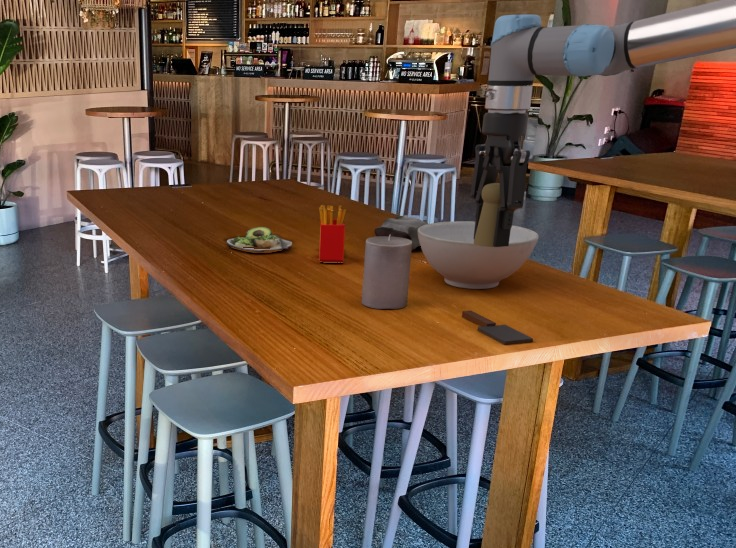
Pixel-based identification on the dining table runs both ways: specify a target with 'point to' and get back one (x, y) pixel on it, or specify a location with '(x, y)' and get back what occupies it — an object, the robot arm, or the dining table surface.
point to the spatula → (496, 329)
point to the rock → (401, 228)
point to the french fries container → (331, 235)
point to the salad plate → (259, 241)
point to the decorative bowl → (473, 254)
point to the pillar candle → (386, 272)
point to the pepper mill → (488, 215)
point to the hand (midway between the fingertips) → (490, 242)
